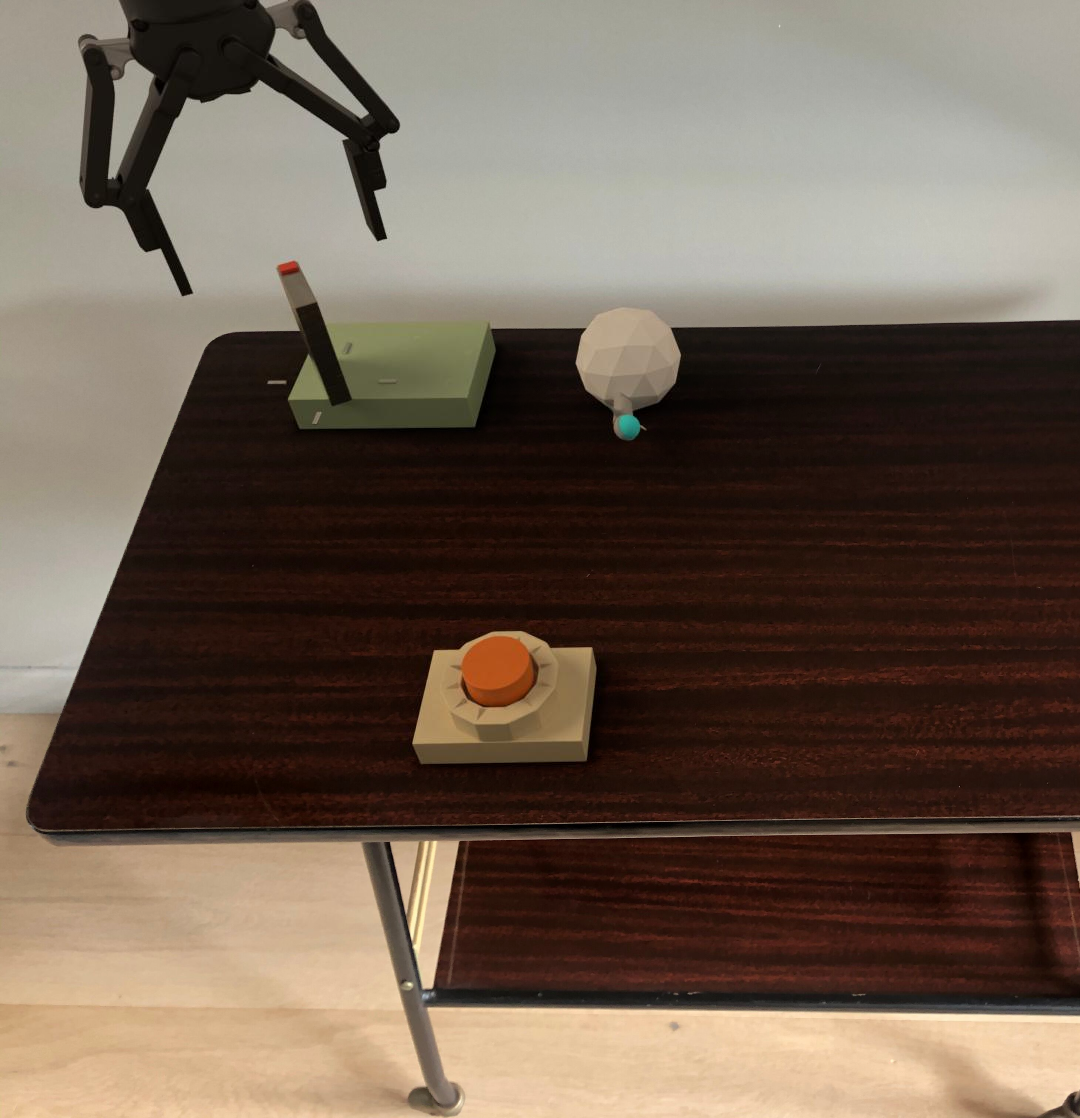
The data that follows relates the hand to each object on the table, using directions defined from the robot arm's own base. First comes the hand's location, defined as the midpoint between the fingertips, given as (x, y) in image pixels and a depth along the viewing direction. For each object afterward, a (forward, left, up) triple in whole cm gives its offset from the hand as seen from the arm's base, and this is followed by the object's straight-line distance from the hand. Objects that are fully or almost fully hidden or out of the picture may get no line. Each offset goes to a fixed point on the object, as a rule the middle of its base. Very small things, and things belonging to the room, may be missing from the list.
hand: (283, 258), depth 80 cm
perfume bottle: (+21, -11, -15) cm, 28 cm away
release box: (+2, -34, -14) cm, 37 cm away
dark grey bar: (0, 0, -11) cm, 11 cm away
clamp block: (+3, 0, -14) cm, 15 cm away
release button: (+2, -34, -11) cm, 36 cm away
